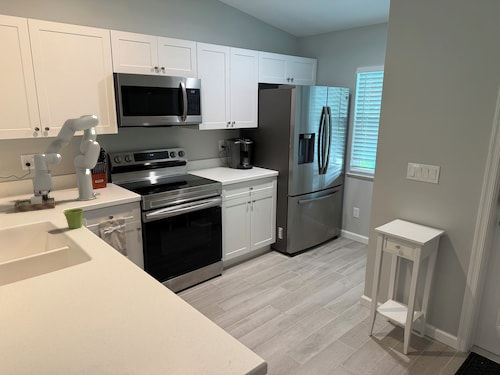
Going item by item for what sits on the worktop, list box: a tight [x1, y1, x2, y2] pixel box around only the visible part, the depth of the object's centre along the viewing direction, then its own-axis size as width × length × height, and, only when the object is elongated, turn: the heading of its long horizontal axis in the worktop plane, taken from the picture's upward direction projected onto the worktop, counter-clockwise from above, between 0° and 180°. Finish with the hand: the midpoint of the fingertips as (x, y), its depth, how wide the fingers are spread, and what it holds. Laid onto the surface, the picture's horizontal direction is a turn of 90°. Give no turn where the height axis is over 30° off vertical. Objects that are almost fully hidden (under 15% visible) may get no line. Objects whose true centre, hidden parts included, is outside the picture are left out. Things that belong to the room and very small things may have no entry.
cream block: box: [29, 196, 42, 204], centre depth 223 cm, size 6×5×4 cm
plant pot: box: [62, 208, 85, 229], centre depth 176 cm, size 9×9×9 cm
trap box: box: [14, 197, 56, 214], centre depth 223 cm, size 21×18×5 cm
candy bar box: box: [31, 176, 51, 199], centre depth 250 cm, size 11×5×16 cm, turn 62°
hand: (45, 200), depth 226 cm, fingers closed
